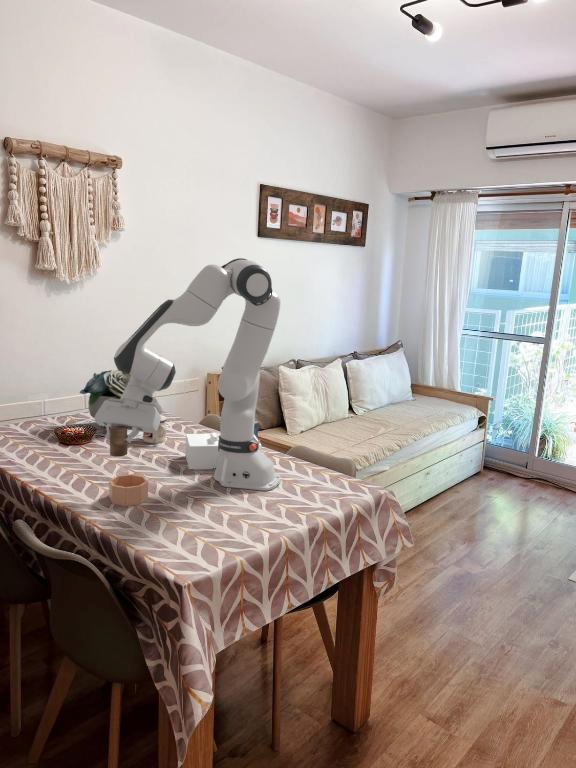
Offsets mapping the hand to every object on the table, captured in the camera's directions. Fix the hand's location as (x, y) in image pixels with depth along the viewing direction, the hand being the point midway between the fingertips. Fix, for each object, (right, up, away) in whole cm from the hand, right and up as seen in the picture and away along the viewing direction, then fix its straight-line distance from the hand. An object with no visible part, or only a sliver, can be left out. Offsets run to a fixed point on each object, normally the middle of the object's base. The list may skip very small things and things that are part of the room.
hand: (117, 440), depth 174 cm
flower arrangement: (-21, -1, +71) cm, 74 cm away
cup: (+3, -17, +1) cm, 18 cm away
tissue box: (+27, -12, +38) cm, 48 cm away
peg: (0, -4, +1) cm, 4 cm away
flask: (+35, -8, +59) cm, 69 cm away
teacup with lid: (-1, -6, +56) cm, 56 cm away
